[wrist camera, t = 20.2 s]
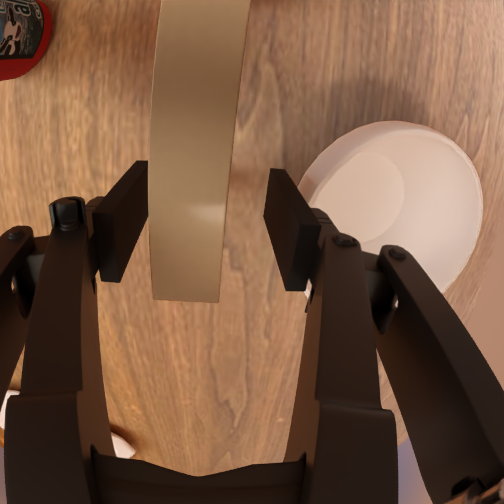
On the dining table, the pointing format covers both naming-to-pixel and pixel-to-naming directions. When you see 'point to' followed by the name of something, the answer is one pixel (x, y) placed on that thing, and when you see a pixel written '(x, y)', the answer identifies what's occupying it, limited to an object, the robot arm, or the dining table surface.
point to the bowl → (401, 194)
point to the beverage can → (22, 36)
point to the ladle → (192, 143)
